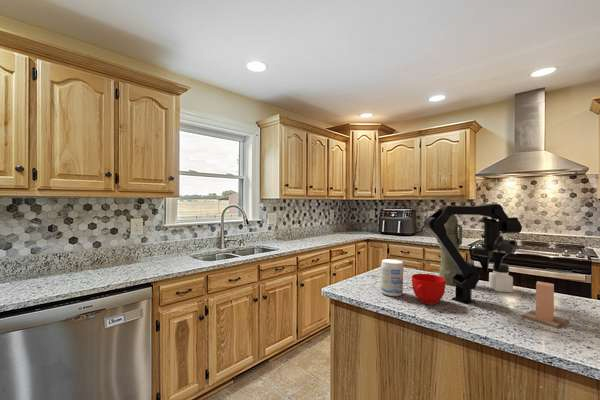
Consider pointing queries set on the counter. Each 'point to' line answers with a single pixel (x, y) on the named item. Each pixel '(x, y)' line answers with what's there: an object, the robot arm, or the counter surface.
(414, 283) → the ceramic cup
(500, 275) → the medicine bottle
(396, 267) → the supplement tub
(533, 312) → the walnut board
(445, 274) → the thermos
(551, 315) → the terracotta block
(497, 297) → the counter surface
